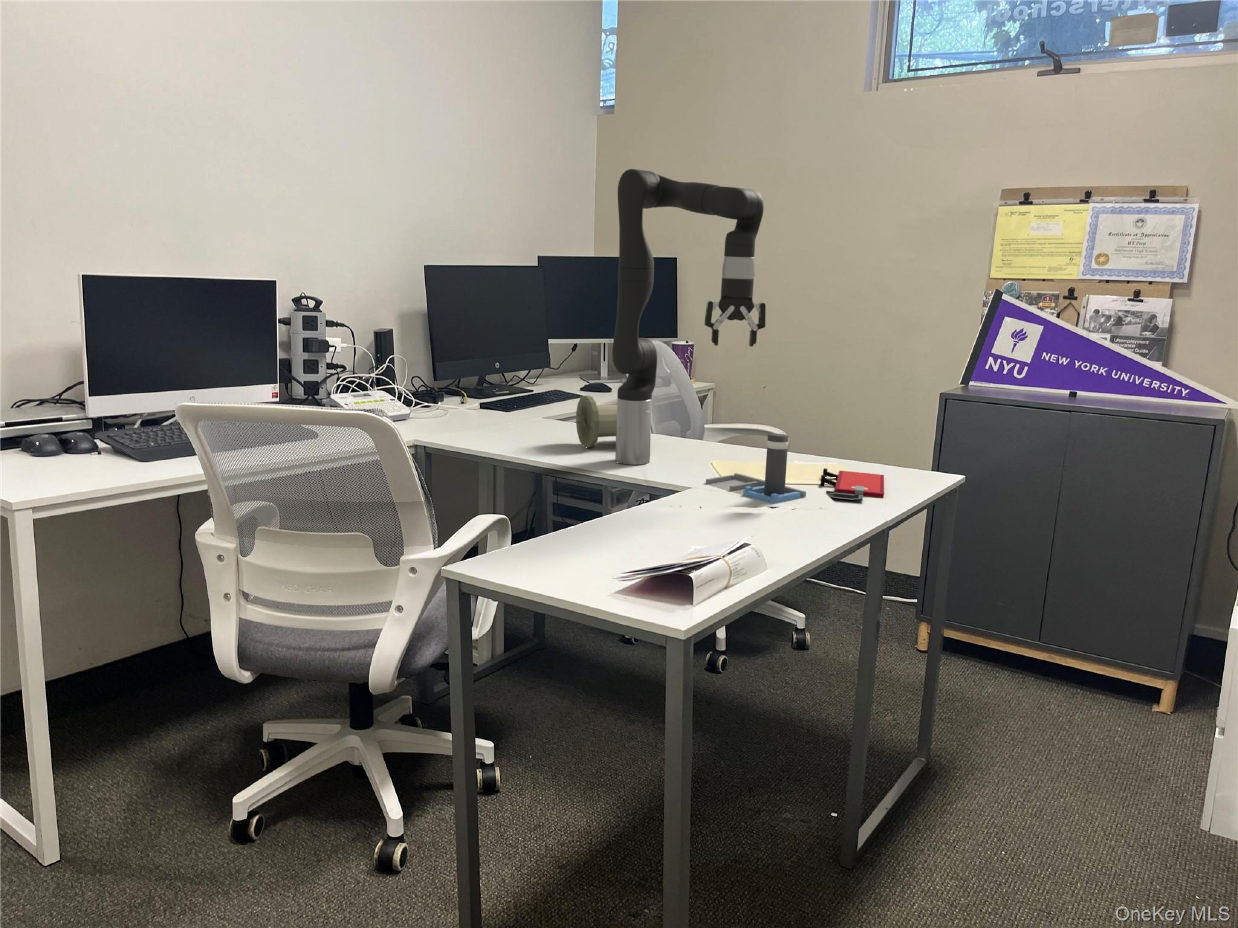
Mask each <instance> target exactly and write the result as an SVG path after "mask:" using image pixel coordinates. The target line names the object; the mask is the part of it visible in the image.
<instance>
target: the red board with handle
mask: <svg viewBox="0 0 1238 928" xmlns="http://www.w3.org/2000/svg"><path fill="white" fill-rule="evenodd" d="M825 477H829V478H831V477H836V478H837V479H836V481H834V480H832V479H829V478H825ZM826 484H827V485H830V486H832V487H834V490H833V491H831V490H826V492H825V495H827V496H828V498H833V499H842V500H843V499H844V500H849V501H850V500H852V501H860V502H863V501H864V500H863V498H864V496H865V497H875V498H882V499H883V498H885V497H884V496H885V475H884V474H880V473H879V474H878V473H869V472H856V471H848V470H847V471H846V470H839V471H838V474H836V473H833V472H831V471H828V468H826V467H825V468H823V470H822V474H821V476H820V485H819V486H820V487H825V485H826Z"/></svg>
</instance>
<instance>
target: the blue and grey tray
mask: <svg viewBox="0 0 1238 928" xmlns="http://www.w3.org/2000/svg"><path fill="white" fill-rule="evenodd" d="M704 484H705V485H708V486H711V487H714V488H718V489H721V490H725V491H728V492H732V493H735V494H739V495H741V496H746V497H747V498H748V497H749V498H753V499H756V500H759V501H762V502H766V503H770V504H778V503H782V502H787V501H792V500H796V499H802V498H806V497H807V491H805V490H801V489H798V488H794V487H790V486H786V485H785V494H782V495H779V494H775V493H774V494H771V497H770V496H766V495H764V487H765V479H761V478H757V477H754V476H749V475H746V474H742V473H738V472H734V474H728V475H723V476H716V477H711V478H706V479H705V483H704ZM768 508H769V509H772V510H773V509H778V508H779V506H768Z"/></svg>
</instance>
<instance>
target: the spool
mask: <svg viewBox="0 0 1238 928" xmlns="http://www.w3.org/2000/svg"><path fill="white" fill-rule="evenodd" d="M576 405H577V406H576V412H575V425H576V432H577V436H578V441H579V442H580V445H581V446H582V445H584V446H585V447H587V448H586V449H592V448H594V447H595V446H596V445H597V442H598V440H599V438H604V437H605V438H608V437H610V438H611V437H616V425H617V404H607V405H597V402H596V400H595V399H594V398H593V396H591V395H588V394H587V395H586V394H585V395H582V396H581V397H579V400H578V402H577V404H576ZM585 447H584V448H585ZM591 447H592V448H591Z"/></svg>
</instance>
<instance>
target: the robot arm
mask: <svg viewBox="0 0 1238 928" xmlns="http://www.w3.org/2000/svg"><path fill="white" fill-rule="evenodd" d="M617 206H618V207H617V208H618V209H617V211H618V226H619V228H618V229H619V233H618V234H619V238H618V239H619V242H618V244H619V245H618V247H619V248H618V251H619V253H618V270H617V301H616V303H617V304H616V318H615V326H614V328H615V329H614V334H613V343H612V351H611V353H612V355H611V358H612V363H613V365H614V367H615V369H616V371H617V372H619V373H620V374H623V375H627V378H626V380H625V381H624V382H623V384H621V385H620V386H619V387H618V388H617V393H616V394H617V397H616V398H617V400H616V401H617V402H616V403H617V404H616V405H617V425H616V436H615V457H614V458H615V463H616V462H618V463H617V464H622V463H623V465H646V464H649V463H650V462H651V434H652V433H651V432H652V406H653V404H652V403H653V402H652V401H653V392H654V390H655V387H656V381H657V368H658V353H657V348H656V345H655V344H654V341H652V340H651V339H649V338H647V337H639V329H640V328H639V327H640V322H641V317H642V314H643V312H644V310H645V308H646V306H647V304H648V302H649V300H650V298H651V294H652V292H653V289H654V278H655V275H654V274H655V261H654V260H655V259H654V256H653V253H652V250H651V247H650V244H649V243H648V240H647V237H646V235H645V230H644V226H643V223H644V221H643V215H644V214H643V213H644V212H643V211H644V209H646V210H649V209H654V208H677V209H681V210H685V211H688V212H691V213H696V214H701V215H707V216H717V217H720V218H721V217H722V218H724V219H730V220H736V223H735V226H734V229H733V230H731V231H729V232H727V234H726V235H725V240H724V250H723V251H724V254H723V256H724V257H723V263H722V269H721V284H720V286H721V287H720V299H719V301H711V300H708V301H707V302H706V307H705V308H706V309H705V314H704V326H705V327H708V328H710V329H711V343H712V344H713V346H716V347H717V346H719V334H720V329H719V328H720V326H722V324H723V323H725V321H726V320H728V321H735V320H736V321H738V322H739V321H745V322H746V324H747V325H748V327H749V328H750V330H749V338H748V339H749V341H748V346H749V347H752V348H753V347H754V345H756V343H757V338H758V337H757V336H758V331H759V330H761V329H764V328H766V316H767V315H766V313H767V312H766V310H767V309H766V303H765V302H758V303H754V301H753V297H754V296H753V295H754V284H755V283H754V281H755V266H756V265H755V251H756V239H757V236H758V232H759V231H760V230H759V229H760V226H761V222H762V219H763V215H764V208H765V207H764V206H765V205H764V200H763V197H762V195H761V193H760V192H759V191H757V190H756V189H755V190H754V189H751V188H750V189H749V188H744V187H743V188H742V187H735V186H734V187H733V186H721V185H719V184H713V183H705V182H695V181H694V182H692V181H690V182H689V181H688V182H687V181H685V182H684V181H678V180H674V179H671V178H668V177H665V176H662V175H660V174H658V173H656V172H653V171H650V170H644V169H636V168H629V169H626V170H625V171H624V172H623V173H622V174H621V175H620V177H619V180H618V184H617ZM717 307H718V309H719V310H720V312H721V313H720V315H718V317H717V318H716V319H715V320H714V322H712V316H713V312H714V311H715V310H716V309H717ZM754 308H755V311H756V312H757V313H758V323H755V321H754V319H753V318H752V316H751V315H750V313H752V311H753V310H754Z"/></svg>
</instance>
